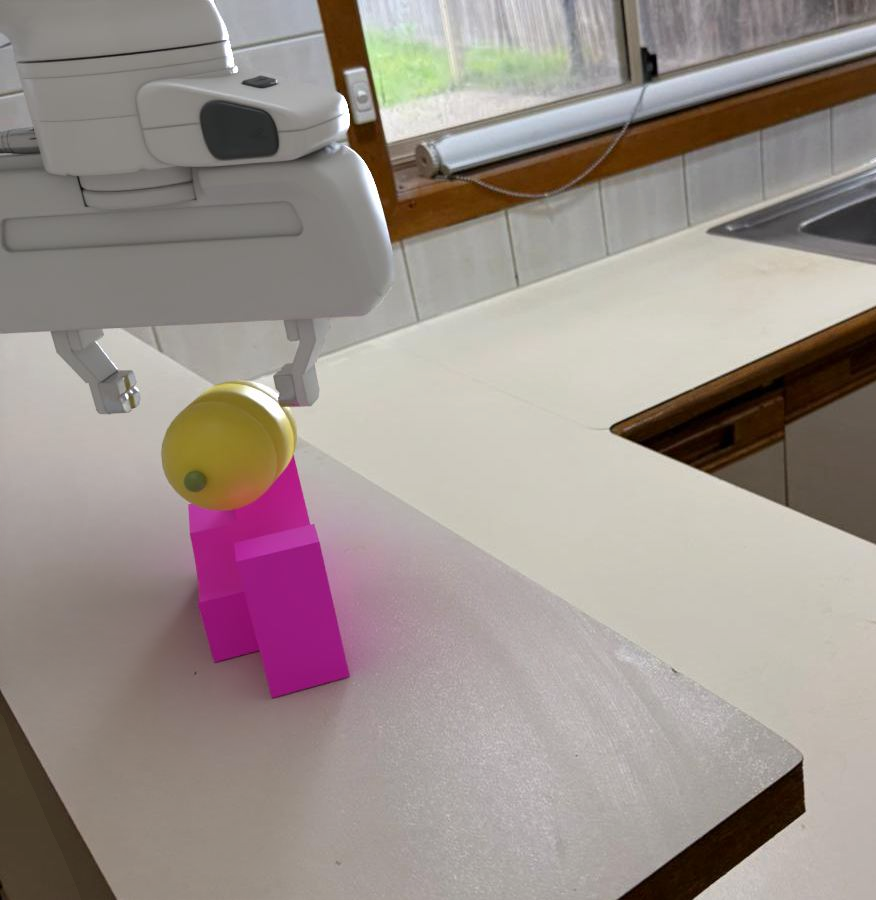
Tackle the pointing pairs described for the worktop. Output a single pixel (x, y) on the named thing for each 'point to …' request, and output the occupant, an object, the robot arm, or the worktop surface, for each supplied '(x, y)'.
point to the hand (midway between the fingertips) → (209, 406)
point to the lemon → (228, 445)
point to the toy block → (268, 587)
